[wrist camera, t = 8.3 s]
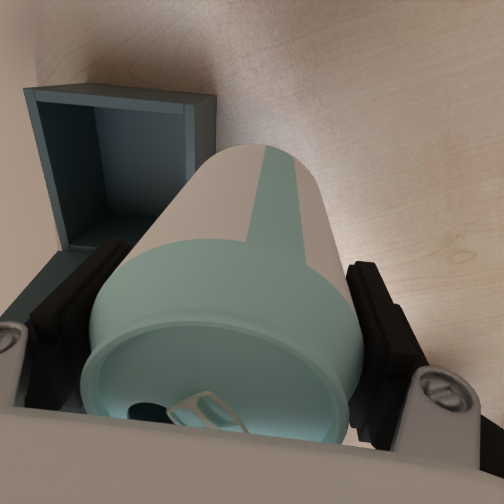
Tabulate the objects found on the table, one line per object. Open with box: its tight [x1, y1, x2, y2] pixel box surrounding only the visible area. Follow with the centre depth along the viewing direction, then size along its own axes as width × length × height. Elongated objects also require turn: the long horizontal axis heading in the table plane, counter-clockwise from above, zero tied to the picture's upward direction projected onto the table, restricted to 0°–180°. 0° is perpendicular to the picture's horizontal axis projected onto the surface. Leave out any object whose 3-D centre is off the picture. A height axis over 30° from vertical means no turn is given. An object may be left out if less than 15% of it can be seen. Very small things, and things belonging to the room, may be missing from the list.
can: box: [80, 144, 364, 445], centre depth 12 cm, size 7×7×12 cm
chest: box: [23, 83, 217, 254], centre depth 31 cm, size 14×13×9 cm
